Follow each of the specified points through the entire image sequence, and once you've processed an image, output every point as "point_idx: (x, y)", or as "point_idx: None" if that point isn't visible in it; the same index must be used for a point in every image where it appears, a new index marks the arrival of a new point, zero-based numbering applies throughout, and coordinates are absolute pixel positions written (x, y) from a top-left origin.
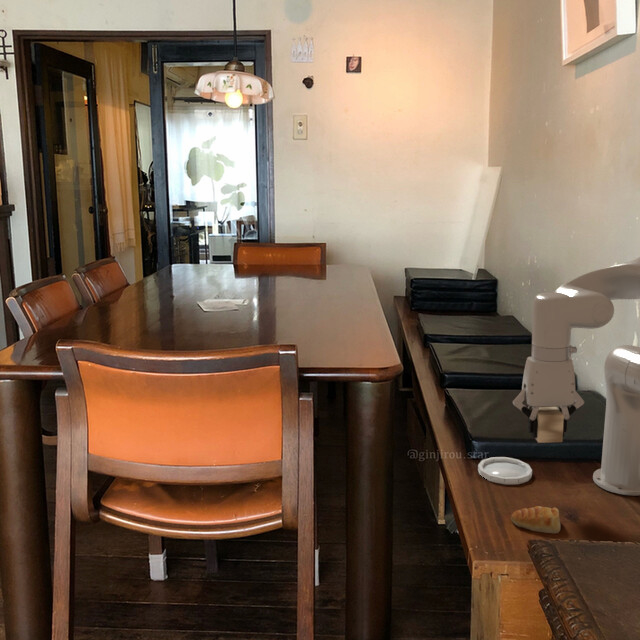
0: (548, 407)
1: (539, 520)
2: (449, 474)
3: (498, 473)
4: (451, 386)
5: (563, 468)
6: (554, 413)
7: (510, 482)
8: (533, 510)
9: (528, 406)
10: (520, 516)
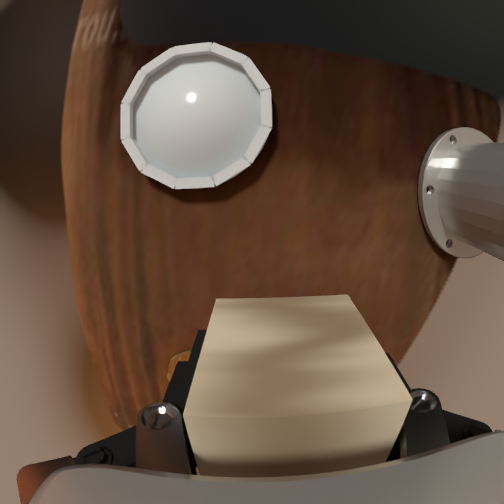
0: (338, 422)
1: None
2: (62, 141)
3: (172, 133)
4: None
5: (370, 91)
6: None
7: (194, 188)
8: None
9: (136, 457)
10: None
